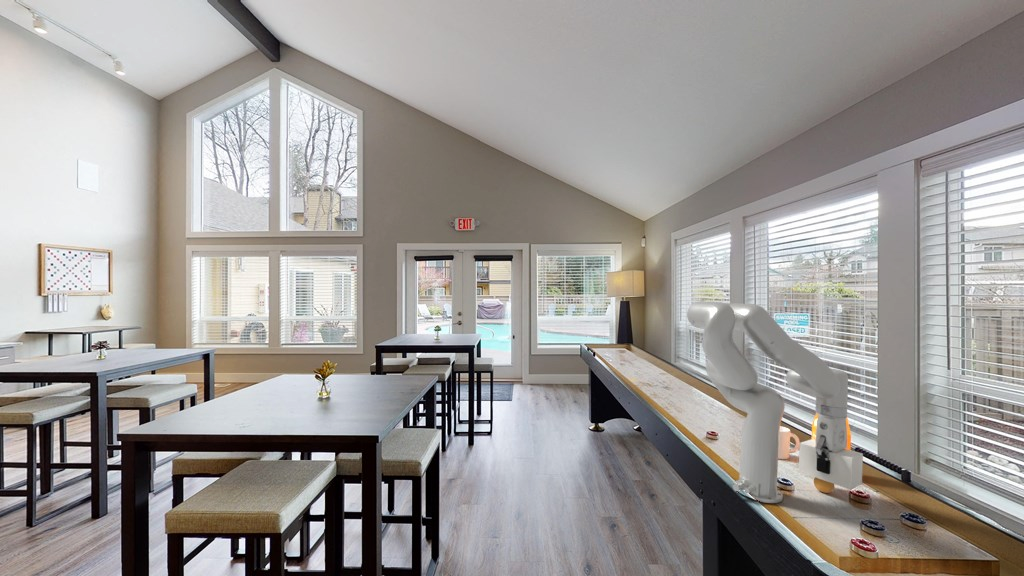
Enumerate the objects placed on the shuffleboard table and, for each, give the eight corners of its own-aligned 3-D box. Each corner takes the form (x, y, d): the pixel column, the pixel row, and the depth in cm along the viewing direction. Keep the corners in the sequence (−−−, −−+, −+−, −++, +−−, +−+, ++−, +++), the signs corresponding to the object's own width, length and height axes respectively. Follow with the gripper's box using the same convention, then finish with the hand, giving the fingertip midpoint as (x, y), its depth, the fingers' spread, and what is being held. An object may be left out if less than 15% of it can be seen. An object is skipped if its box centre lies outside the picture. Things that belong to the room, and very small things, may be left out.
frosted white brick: (851, 489, 117) (852, 458, 118) (798, 471, 129) (799, 443, 129) (861, 483, 122) (862, 453, 122) (810, 466, 133) (811, 439, 133)
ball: (807, 485, 128) (824, 498, 124) (815, 472, 126) (832, 485, 122) (815, 481, 130) (832, 494, 126) (823, 469, 128) (840, 482, 125)
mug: (794, 454, 157) (795, 426, 157) (804, 462, 149) (806, 433, 149) (759, 450, 160) (760, 423, 160) (768, 458, 151) (769, 430, 151)
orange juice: (849, 479, 136) (852, 418, 137) (817, 474, 139) (820, 414, 140) (840, 470, 144) (842, 412, 144) (809, 465, 147) (812, 408, 147)
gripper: (833, 418, 117) (831, 480, 117) (858, 410, 127) (856, 468, 127) (803, 411, 124) (801, 470, 124) (829, 404, 133) (827, 459, 133)
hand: (829, 469), depth 125 cm, fingers closed on frosted white brick, 7 cm apart
